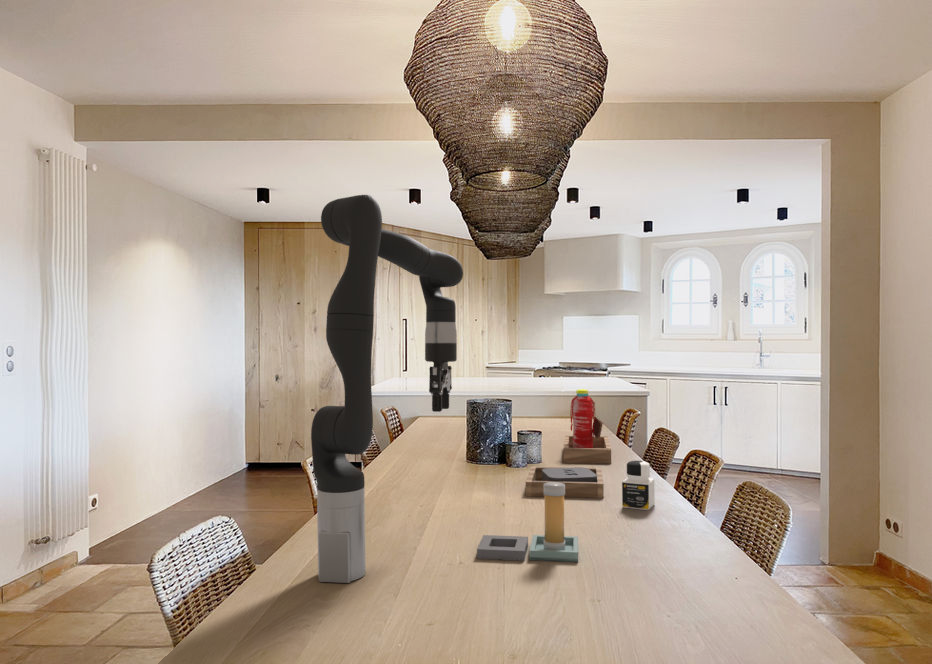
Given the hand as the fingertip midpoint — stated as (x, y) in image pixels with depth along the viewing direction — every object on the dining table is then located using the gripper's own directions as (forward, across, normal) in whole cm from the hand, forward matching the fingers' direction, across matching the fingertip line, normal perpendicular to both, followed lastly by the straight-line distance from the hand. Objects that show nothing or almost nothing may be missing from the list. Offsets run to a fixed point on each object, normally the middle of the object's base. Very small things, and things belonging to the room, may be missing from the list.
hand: (440, 410), depth 163 cm
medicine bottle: (+28, +32, -48) cm, 64 cm away
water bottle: (+25, +106, -34) cm, 115 cm away
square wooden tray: (+27, +51, -28) cm, 64 cm away
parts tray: (+29, -10, -27) cm, 41 cm away
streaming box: (+28, +50, -29) cm, 64 cm away
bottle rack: (+25, +106, -34) cm, 114 cm away
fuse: (+29, -10, -27) cm, 41 cm away
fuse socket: (+30, -11, -16) cm, 35 cm away
